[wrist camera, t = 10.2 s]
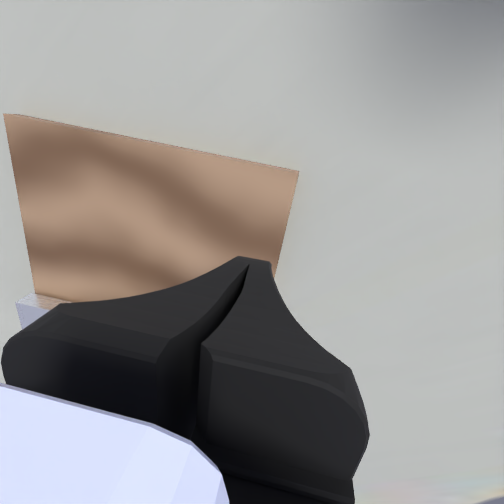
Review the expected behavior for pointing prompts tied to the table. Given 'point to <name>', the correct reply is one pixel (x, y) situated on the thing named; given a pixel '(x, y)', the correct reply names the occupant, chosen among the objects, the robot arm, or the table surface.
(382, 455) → the table surface
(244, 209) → the base plate
